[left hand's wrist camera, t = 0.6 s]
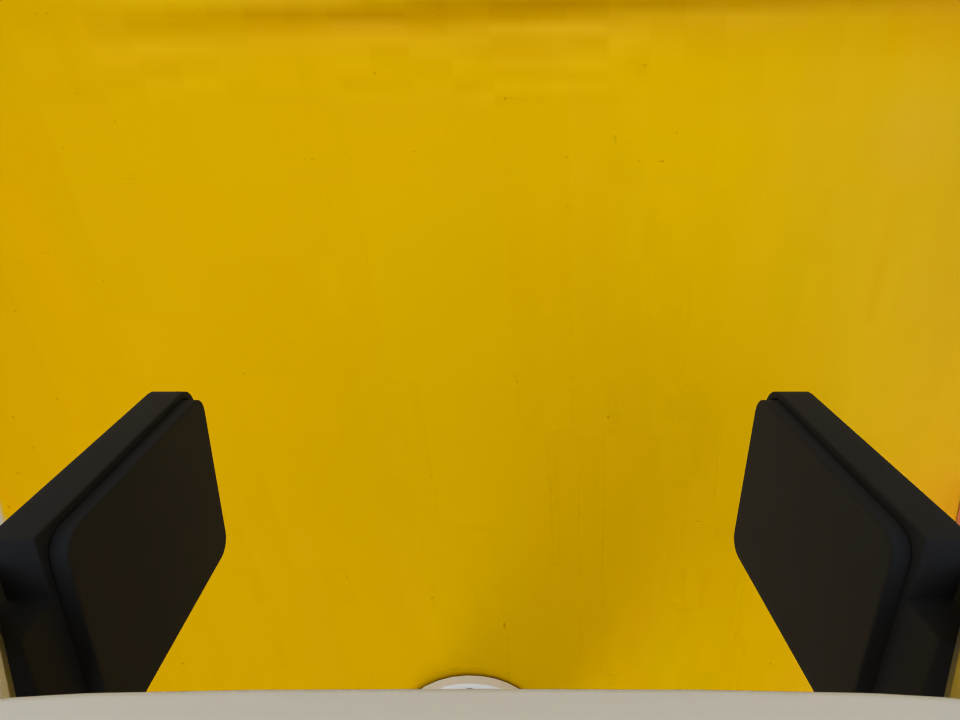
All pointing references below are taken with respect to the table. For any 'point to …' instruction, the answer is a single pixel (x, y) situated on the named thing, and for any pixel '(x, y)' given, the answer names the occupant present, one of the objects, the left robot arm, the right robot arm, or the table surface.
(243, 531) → the table surface
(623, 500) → the table surface
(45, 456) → the table surface
